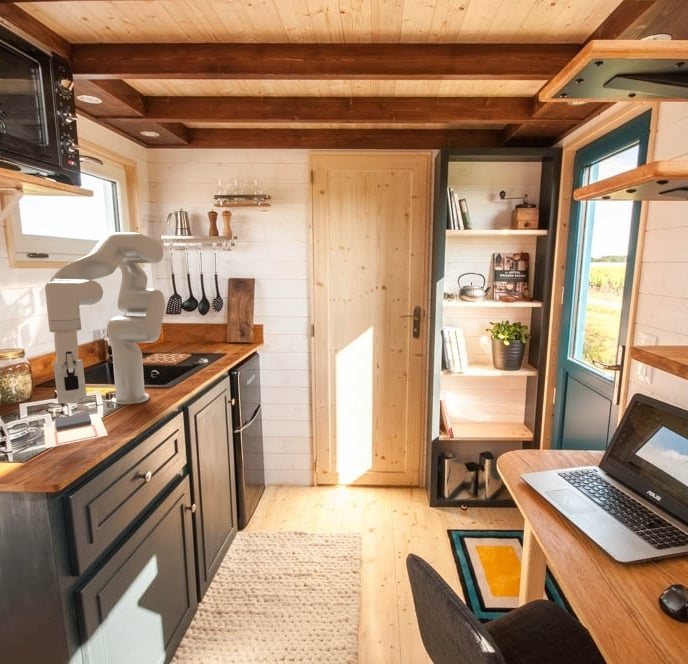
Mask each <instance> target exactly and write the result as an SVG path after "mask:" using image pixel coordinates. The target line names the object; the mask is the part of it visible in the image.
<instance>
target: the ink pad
mask: <svg viewBox="0 0 688 664" xmlns="http://www.w3.org/2000/svg"><path fill="white" fill-rule="evenodd" d="M89 415H90V414H89V412H84V413H78V414H74V415H68V416H62V417H56V418H54V421H55V423H56V430H57V431H58V430H63V429H69V428H74V427H79V426H84V425H90V424H91V419H90V416H89Z"/></svg>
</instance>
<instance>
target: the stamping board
mask: <svg viewBox="0 0 688 664" xmlns="http://www.w3.org/2000/svg"><path fill="white" fill-rule="evenodd" d="M89 416H90V419H91V424H90V425H84V426H79V427H74V428H69V429H63V430H58V431H57V430H56V423H55V420H54V421H51V422H52V427H51V428H47V427H46V424H45V423H46V422H43V431H44V432H43V434H44V444H45V445H44V446H45V447H44V448H45V449H50V448H54V447H59V446H63V445H68V444H73V443H78V442H83V441H88V440H94V439H97V438H102V437H108V436H109V434H108V431H107V429H106V427H105V425H104V423H103V420H102V418H101V414H100V413H93V414H89Z"/></svg>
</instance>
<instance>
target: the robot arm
mask: <svg viewBox="0 0 688 664" xmlns="http://www.w3.org/2000/svg"><path fill="white" fill-rule="evenodd" d="M163 258H164V248H163V246H162V244H161V243H160V242H159V241H158V240H156V239H154V238H152V237H150V236H148V235H145V234H143V233H139V232H110V233H106V234H105V235H104V236H103V237H102V238H101V240H99V242H98V243H97V244H96V245H95V247H94V248H93V249H92V250H91V252H90V253H89V254H87V255H86V256H83V257H81V258H78V259H76V260H74V261H72V262H69V263H67V264H66V265H64V266H62V267H61V268H59V269H58V270H57V272H56V273H55V274H54V275H52V277H51V278H50V280H48V282H46V284H45V286H44V291H45V301H46V302H45V303H46V310H47V319H48V328H49V333H53V334H54V335H53V337H54V339H53V341H54V350H55V362H57V366H58V367H59V368H61V366H63V365H64V372H65V377H64V383H65V390H66V391H69V390H76V389H79V384H78V375H77V372H76V366H77V365H78V360H79V343H78V331H82V320H81V310H80V306H92V305H95V304H97V303H99V302H100V301H101V300H102V298H103V294H104V290H103V287H102V286H101V284H100V283H98V282H97V281H95V280H98V279H101V278H105V277H108V276H110V275H112V274H113V273H114V272H115V271H116V269H117V268H118V267H119V269H120V272H121V283H120V287H119V292H118V297H117V309H118V310H119V311H120V312H121V313H123V314H128V315H117V316H114V317H112V318H110V319H109V320H108V322H107V326H106V332H107V336H108V339H109V342H110V346H111V351H112V352H111V353H112V365H113V376H114V378H113V379H114V387H115V389H114V390H115V391H114V392H115V396H116V398H114V397H115V396H113V397H112V398H111V400H110V401H111V403H112V404H117V405H133V404H138V405H140V404H142V403H144V402H147V401H148V400H149V399H150V394H149V393H147V392H145V379H144V377H145V376H144V366H143V353H142V352H143V351H142V350H141V348H140V346H139V345H138V344H137V343H146V344H148V343H155V342H156V341H158V340H159V338H160V336H161V332H162V326H163V320H164V315H165V308H166V303H165V302H166V300H165V295H164V293H163V292H162V291H161V289H158V288H148V287H147V286H148V276H147V274H146V272H145V271H144V270H143V268H142V267H141V266H140V265H139V264H157V263H160V262H162V260H163ZM129 314H131V315H129ZM141 315H142V316H141ZM144 315H145V316H144ZM75 361H76V363H75ZM73 362H74V365H73ZM65 364H68V365H66V366H65ZM67 368H68V369H67Z"/></svg>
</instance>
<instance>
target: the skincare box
mask: <svg viewBox="0 0 688 664" xmlns="http://www.w3.org/2000/svg"><path fill="white" fill-rule="evenodd" d="M83 361H84V360H83V359H78V365H77V366H76V372H77V375H78V384H79V389H76V390H69V391H66V390H65V383H64V377H65V372H64V365H63V366H61V368H59V367H58V366H57V362H56V361H55V362H53V363H52V366H53V373H54V380H55V388H56V395H57V396H56V397H57V403H58V404H80V403H82V402H84V401H85V400H87V398H88V395H87V388H86V379H85V371H84V362H83ZM75 363H76V361H75ZM66 365H68V364H65V366H66ZM73 365H74V362H73ZM67 369H68V368H67Z"/></svg>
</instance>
